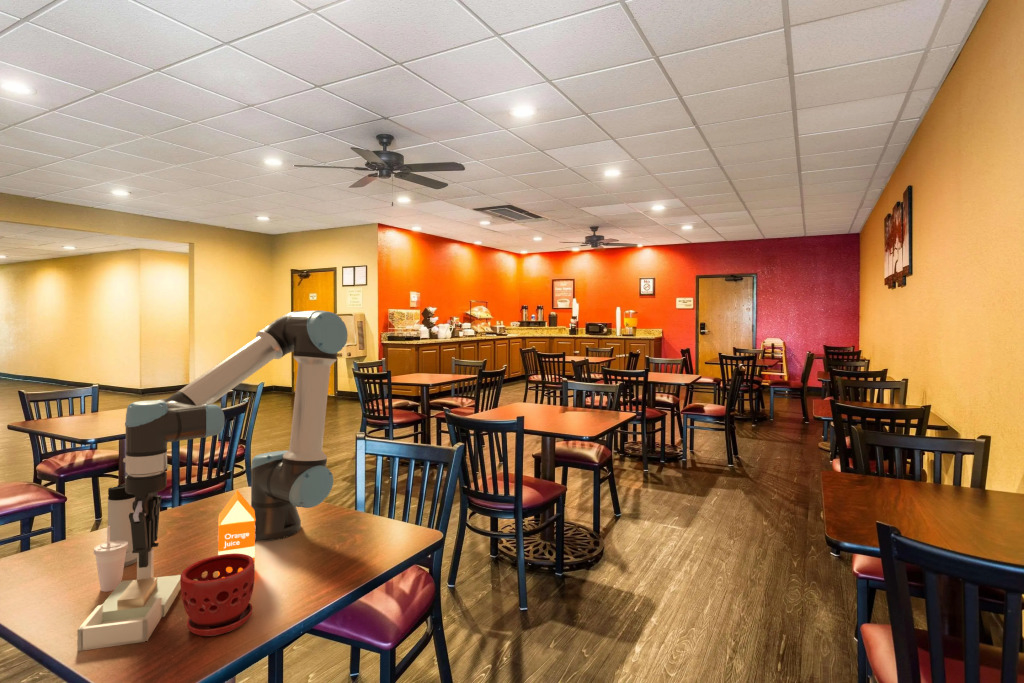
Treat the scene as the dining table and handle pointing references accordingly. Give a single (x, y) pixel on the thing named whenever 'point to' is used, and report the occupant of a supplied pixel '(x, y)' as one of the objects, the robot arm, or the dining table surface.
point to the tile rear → (144, 584)
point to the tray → (117, 629)
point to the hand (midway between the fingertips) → (145, 579)
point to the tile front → (134, 598)
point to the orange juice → (237, 529)
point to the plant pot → (218, 593)
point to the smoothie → (110, 562)
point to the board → (165, 590)
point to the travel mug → (121, 519)
